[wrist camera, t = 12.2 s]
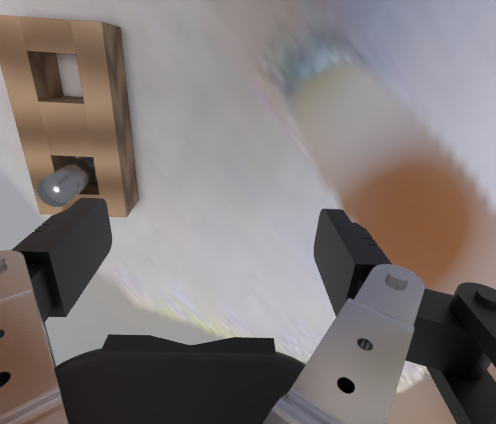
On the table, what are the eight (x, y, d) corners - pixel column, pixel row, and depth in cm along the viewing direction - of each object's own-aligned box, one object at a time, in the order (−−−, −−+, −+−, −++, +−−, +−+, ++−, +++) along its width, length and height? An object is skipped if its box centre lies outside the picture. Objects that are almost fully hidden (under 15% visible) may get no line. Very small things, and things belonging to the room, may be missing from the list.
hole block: (21, 20, 32) (-14, 14, 28) (120, 27, 33) (101, 22, 28) (61, 197, 41) (40, 214, 36) (138, 200, 41) (126, 217, 37)
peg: (81, 150, 38) (33, 177, 29) (105, 151, 38) (65, 178, 29) (85, 173, 40) (40, 206, 31) (109, 173, 40) (72, 207, 31)
